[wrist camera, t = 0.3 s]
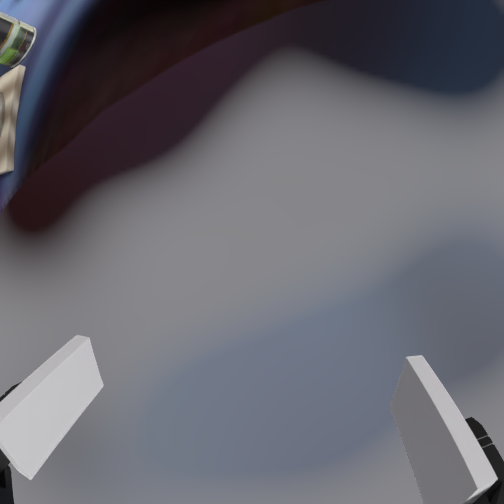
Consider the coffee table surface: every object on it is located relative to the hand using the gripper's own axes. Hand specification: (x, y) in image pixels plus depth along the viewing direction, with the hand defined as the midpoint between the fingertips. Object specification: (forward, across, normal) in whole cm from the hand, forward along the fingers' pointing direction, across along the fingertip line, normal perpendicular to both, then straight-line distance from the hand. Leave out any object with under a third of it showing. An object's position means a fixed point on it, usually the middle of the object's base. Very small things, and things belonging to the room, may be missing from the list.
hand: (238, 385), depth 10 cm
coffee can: (+28, -52, +42) cm, 72 cm away
